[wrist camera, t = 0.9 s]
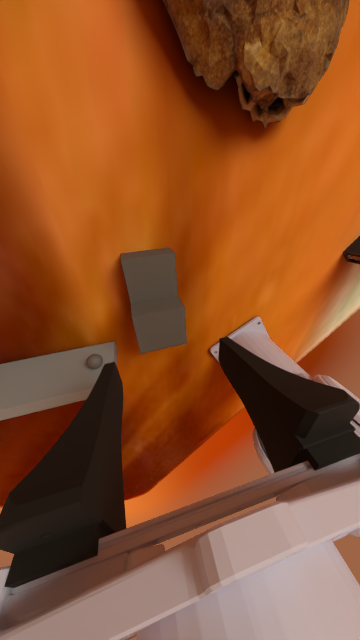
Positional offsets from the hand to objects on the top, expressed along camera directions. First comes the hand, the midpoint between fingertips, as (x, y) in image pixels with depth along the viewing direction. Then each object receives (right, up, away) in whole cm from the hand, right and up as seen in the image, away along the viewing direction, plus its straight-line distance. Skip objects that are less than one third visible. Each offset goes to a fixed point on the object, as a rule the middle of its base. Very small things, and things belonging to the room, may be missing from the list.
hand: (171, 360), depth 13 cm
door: (-14, -1, +7) cm, 15 cm away
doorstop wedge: (-2, +6, +7) cm, 10 cm away
